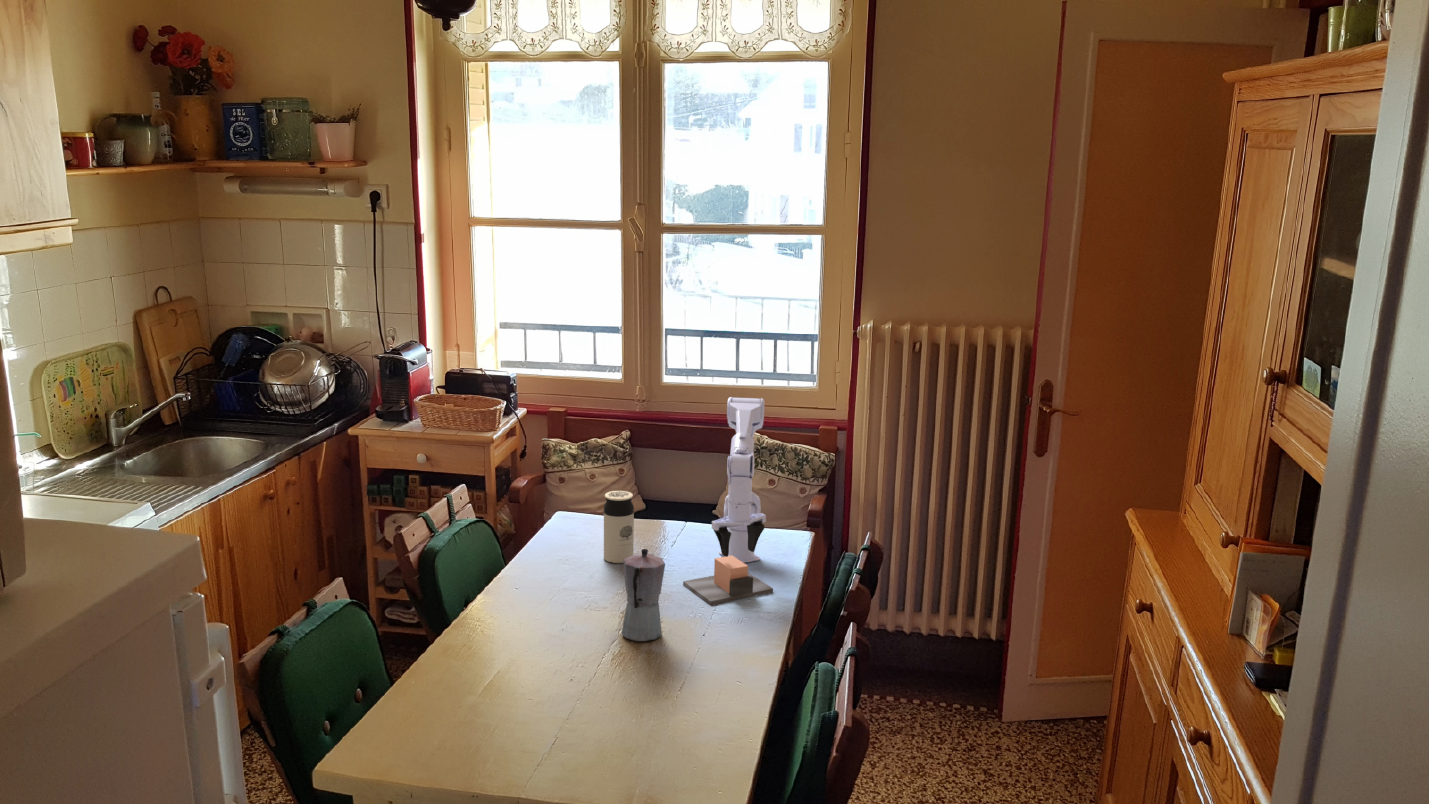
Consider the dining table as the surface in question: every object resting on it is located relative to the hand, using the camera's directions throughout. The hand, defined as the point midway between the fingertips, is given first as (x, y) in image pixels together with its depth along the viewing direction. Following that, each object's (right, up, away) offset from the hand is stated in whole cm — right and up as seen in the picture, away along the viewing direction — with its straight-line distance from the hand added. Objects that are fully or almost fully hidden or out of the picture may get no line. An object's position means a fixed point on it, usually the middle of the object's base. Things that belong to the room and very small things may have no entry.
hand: (738, 553), depth 261 cm
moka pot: (-22, -15, -26) cm, 38 cm away
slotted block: (-2, -8, 0) cm, 9 cm away
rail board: (-3, -9, +1) cm, 10 cm away
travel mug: (-32, -5, +20) cm, 38 cm away
